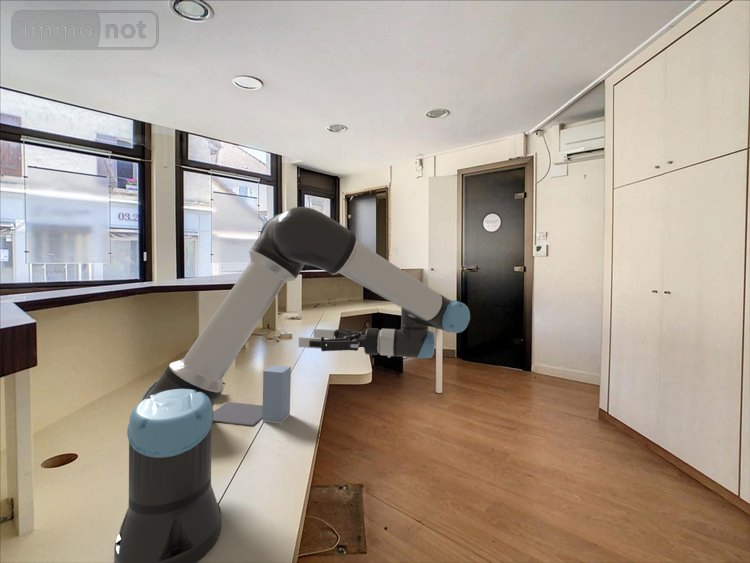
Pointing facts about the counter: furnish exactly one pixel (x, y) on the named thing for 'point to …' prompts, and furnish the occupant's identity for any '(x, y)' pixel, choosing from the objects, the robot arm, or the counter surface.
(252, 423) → the mat
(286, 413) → the plain blue-gray rectangular block
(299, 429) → the counter surface
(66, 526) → the counter surface
